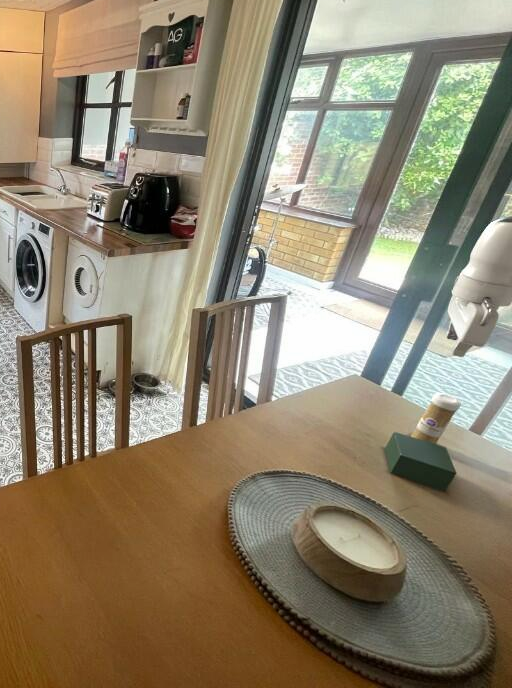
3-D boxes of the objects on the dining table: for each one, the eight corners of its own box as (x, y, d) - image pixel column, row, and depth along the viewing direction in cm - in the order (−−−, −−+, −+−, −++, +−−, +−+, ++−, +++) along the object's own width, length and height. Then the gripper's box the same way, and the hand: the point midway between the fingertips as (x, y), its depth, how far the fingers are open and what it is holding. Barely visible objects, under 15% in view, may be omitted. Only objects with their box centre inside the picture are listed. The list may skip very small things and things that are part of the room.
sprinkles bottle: (408, 440, 103) (433, 397, 97) (412, 432, 105) (436, 389, 99) (433, 451, 99) (460, 407, 94) (437, 442, 102) (463, 399, 96)
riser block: (434, 464, 95) (445, 447, 93) (444, 491, 89) (456, 473, 86) (384, 448, 100) (394, 431, 98) (390, 473, 93) (400, 455, 91)
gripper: (518, 311, 79) (482, 371, 85) (495, 281, 93) (466, 334, 99) (471, 302, 82) (440, 360, 88) (455, 274, 97) (430, 326, 103)
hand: (453, 346), depth 94 cm, fingers open, 8 cm apart
